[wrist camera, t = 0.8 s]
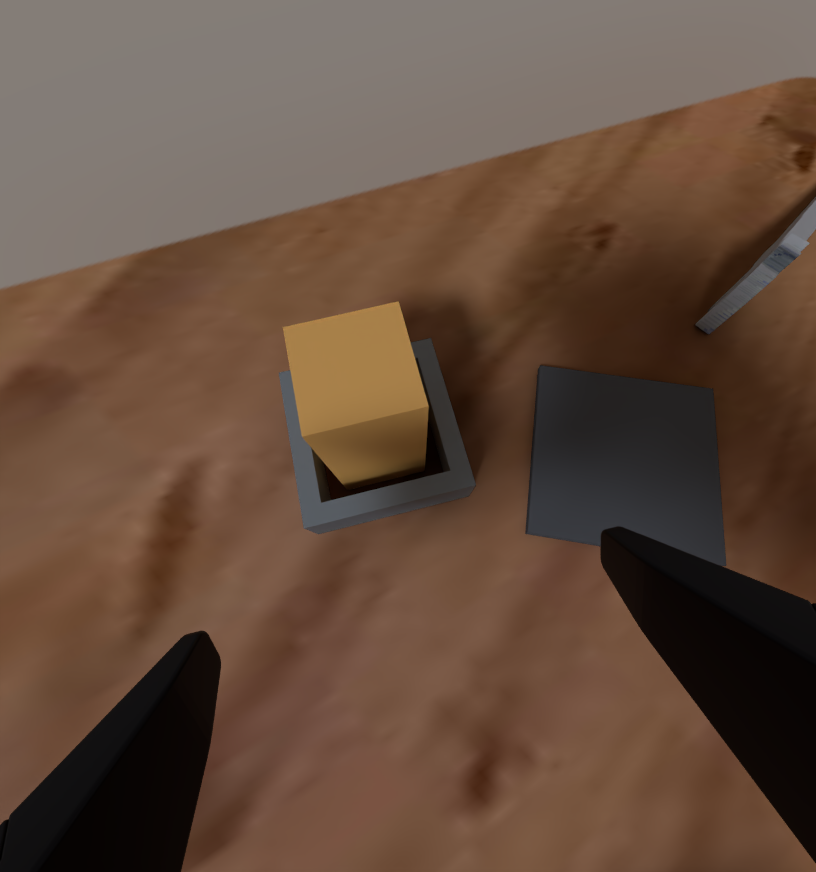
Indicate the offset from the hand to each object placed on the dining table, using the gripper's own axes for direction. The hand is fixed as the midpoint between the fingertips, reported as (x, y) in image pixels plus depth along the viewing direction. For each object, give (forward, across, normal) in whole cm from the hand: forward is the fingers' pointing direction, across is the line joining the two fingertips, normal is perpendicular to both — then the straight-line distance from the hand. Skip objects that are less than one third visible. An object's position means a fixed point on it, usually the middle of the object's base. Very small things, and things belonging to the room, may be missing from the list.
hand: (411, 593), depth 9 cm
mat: (+12, -13, +6) cm, 19 cm away
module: (+15, 0, +3) cm, 15 cm away
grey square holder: (+15, 0, +3) cm, 15 cm away
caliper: (+20, -30, -3) cm, 36 cm away
